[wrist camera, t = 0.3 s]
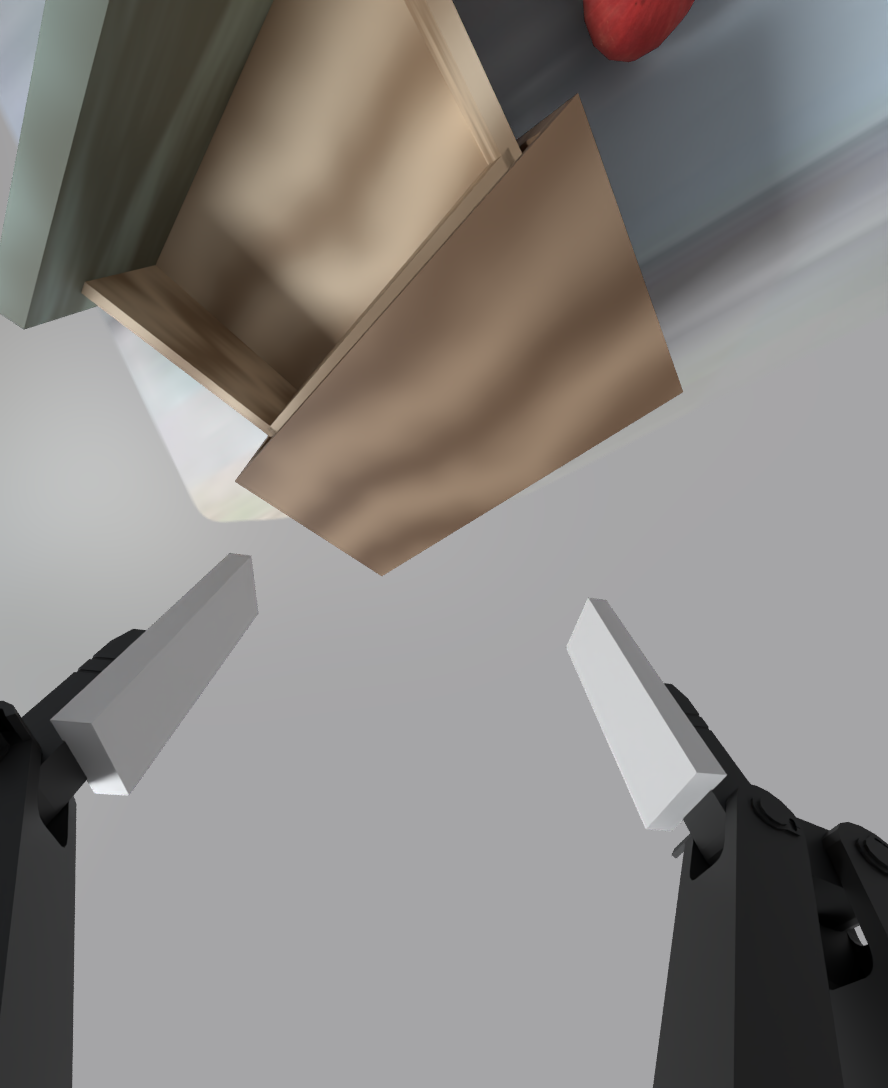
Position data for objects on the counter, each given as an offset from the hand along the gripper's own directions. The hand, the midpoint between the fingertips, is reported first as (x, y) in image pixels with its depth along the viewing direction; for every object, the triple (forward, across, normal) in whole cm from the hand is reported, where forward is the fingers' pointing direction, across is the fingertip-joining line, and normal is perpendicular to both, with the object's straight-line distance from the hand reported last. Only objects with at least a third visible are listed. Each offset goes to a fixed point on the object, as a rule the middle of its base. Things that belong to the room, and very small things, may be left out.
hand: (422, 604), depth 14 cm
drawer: (+21, -11, +17) cm, 29 cm away
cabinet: (+25, -1, +8) cm, 26 cm away
